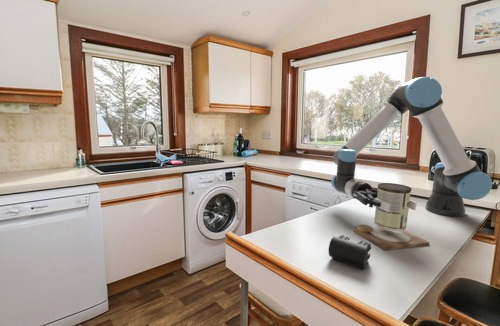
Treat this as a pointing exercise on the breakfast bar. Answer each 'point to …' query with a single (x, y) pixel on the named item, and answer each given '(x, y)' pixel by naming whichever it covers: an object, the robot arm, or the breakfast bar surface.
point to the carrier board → (389, 237)
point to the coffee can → (393, 206)
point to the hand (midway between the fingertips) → (402, 206)
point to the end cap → (350, 251)
